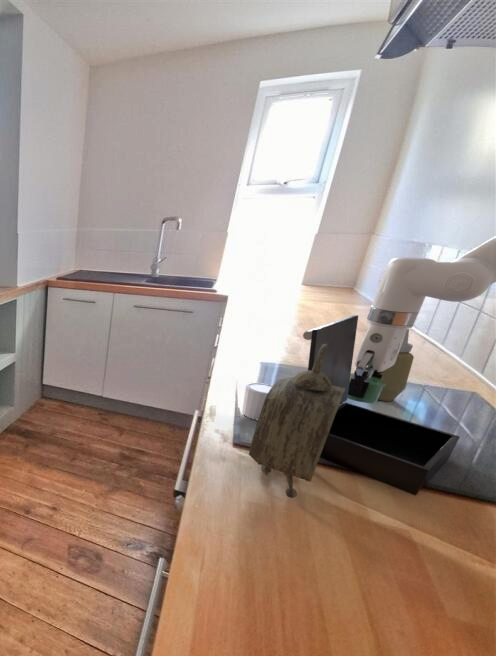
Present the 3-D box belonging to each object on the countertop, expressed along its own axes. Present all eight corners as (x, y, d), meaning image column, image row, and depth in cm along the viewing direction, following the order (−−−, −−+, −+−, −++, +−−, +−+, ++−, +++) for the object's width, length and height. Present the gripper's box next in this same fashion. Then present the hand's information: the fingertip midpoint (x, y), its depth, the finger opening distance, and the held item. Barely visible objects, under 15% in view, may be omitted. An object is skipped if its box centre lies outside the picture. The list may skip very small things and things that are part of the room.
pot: (383, 399, 95) (391, 380, 93) (372, 406, 92) (380, 387, 90) (346, 388, 101) (353, 371, 99) (334, 395, 97) (341, 377, 95)
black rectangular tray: (446, 462, 78) (460, 436, 76) (413, 499, 69) (428, 470, 66) (335, 425, 92) (344, 402, 90) (294, 451, 82) (303, 425, 80)
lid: (358, 315, 84) (329, 314, 88) (317, 329, 75) (287, 328, 79) (347, 400, 89) (320, 396, 93) (306, 424, 79) (278, 418, 83)
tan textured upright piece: (300, 507, 67) (354, 363, 57) (238, 484, 73) (277, 349, 63) (314, 469, 76) (363, 340, 66) (259, 451, 82) (295, 330, 72)
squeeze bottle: (349, 392, 108) (375, 325, 101) (371, 388, 110) (397, 323, 103) (385, 405, 101) (415, 334, 94) (407, 401, 103) (438, 331, 96)
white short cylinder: (232, 412, 98) (239, 385, 95) (250, 406, 101) (257, 380, 98) (261, 424, 92) (269, 396, 89) (279, 418, 95) (288, 390, 92)
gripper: (400, 327, 81) (367, 407, 88) (427, 315, 90) (394, 389, 97) (353, 319, 87) (326, 395, 94) (382, 309, 96) (355, 379, 103)
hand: (361, 391), depth 96 cm, fingers closed on pot, 7 cm apart
